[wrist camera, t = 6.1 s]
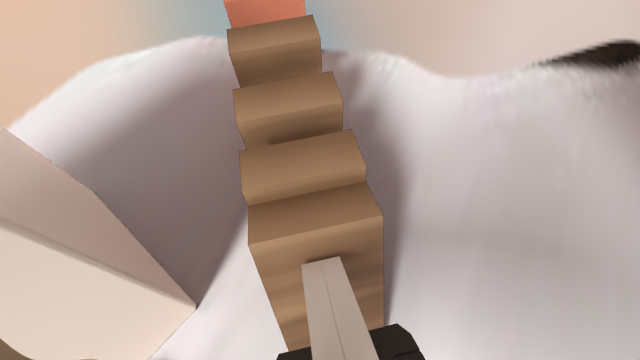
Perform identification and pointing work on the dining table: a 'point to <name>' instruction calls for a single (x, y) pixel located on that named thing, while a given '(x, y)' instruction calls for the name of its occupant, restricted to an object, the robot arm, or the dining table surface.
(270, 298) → the domino
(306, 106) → the domino
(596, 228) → the dining table surface
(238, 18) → the domino
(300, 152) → the domino
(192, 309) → the gable box
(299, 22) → the domino
